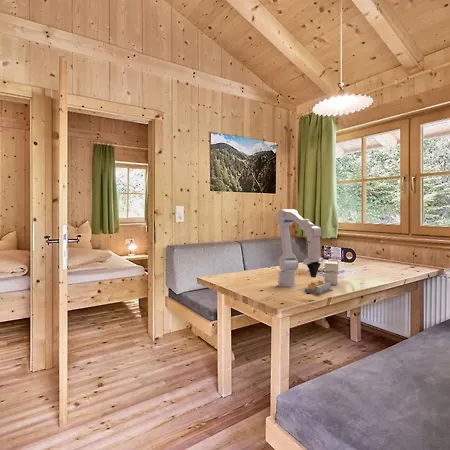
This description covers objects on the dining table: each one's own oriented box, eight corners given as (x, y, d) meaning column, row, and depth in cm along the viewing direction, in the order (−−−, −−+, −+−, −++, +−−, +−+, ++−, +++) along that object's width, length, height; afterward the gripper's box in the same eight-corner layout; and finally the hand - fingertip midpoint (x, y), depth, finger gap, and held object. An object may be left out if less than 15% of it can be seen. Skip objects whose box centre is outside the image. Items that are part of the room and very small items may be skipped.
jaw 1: (314, 292, 162) (314, 284, 161) (307, 291, 165) (308, 282, 164) (318, 291, 164) (319, 282, 164) (312, 290, 167) (312, 281, 167)
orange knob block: (321, 290, 166) (321, 282, 165) (315, 289, 169) (315, 280, 169) (325, 289, 168) (325, 281, 168) (319, 288, 171) (319, 279, 171)
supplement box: (323, 284, 184) (324, 262, 183) (324, 281, 191) (325, 260, 190) (337, 285, 181) (337, 263, 180) (337, 282, 188) (337, 261, 187)
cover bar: (320, 294, 158) (320, 287, 157) (315, 293, 160) (315, 286, 160) (333, 290, 166) (333, 283, 166) (328, 289, 168) (328, 282, 168)
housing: (318, 296, 158) (318, 292, 158) (297, 291, 168) (297, 287, 168) (333, 291, 167) (333, 287, 167) (312, 287, 177) (312, 283, 177)
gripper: (312, 252, 149) (311, 280, 150) (328, 249, 158) (328, 276, 159) (299, 250, 154) (299, 278, 155) (316, 248, 164) (316, 274, 164)
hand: (313, 277), depth 157 cm, fingers closed
